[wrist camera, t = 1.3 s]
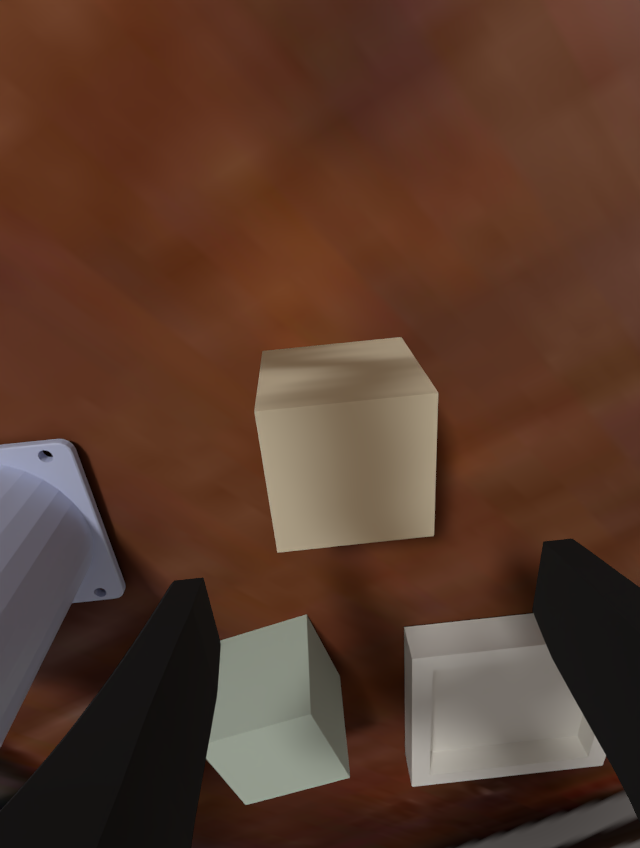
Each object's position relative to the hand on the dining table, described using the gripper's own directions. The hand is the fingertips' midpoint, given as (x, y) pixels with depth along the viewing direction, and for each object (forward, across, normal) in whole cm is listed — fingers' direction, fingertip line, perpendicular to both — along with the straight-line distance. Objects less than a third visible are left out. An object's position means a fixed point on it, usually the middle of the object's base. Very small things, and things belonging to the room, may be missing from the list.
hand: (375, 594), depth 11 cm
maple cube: (+9, 0, 0) cm, 9 cm away
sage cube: (+9, +4, +14) cm, 17 cm away
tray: (+9, -8, +18) cm, 22 cm away
